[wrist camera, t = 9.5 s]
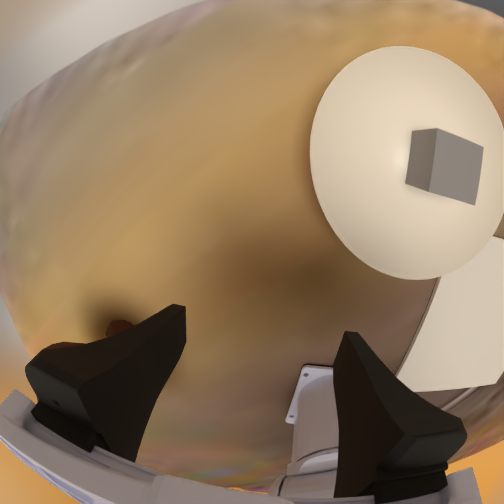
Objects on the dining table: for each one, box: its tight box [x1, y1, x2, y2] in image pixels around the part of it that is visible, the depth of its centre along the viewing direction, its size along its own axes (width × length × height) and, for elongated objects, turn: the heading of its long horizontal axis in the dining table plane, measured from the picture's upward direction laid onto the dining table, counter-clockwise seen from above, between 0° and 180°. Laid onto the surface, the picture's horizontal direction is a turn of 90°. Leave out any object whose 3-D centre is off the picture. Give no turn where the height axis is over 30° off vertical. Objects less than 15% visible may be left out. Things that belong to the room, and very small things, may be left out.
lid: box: [309, 46, 504, 280], centre depth 11 cm, size 14×14×4 cm
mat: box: [395, 236, 504, 392], centre depth 20 cm, size 18×18×1 cm
